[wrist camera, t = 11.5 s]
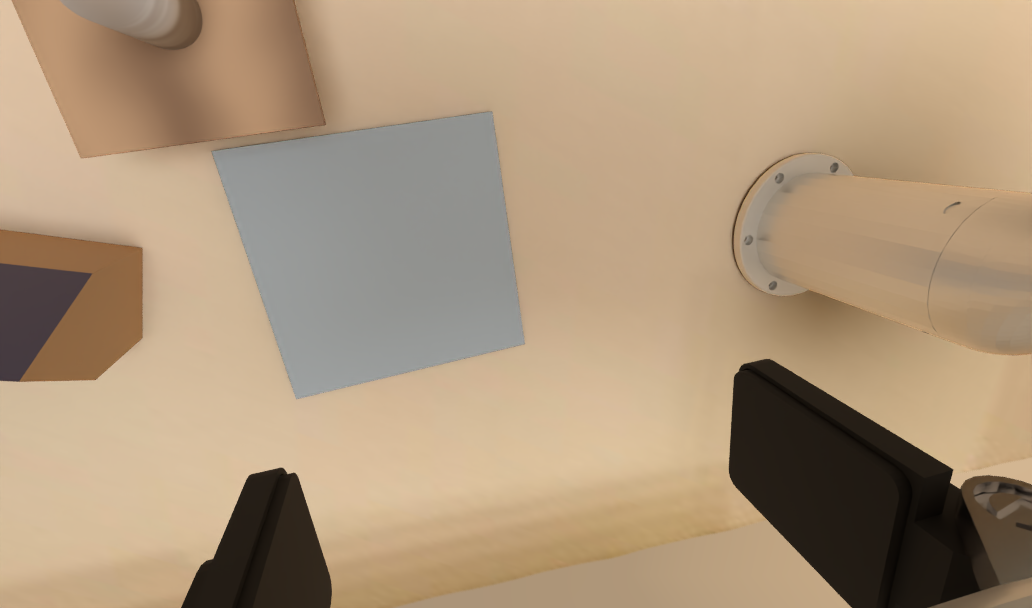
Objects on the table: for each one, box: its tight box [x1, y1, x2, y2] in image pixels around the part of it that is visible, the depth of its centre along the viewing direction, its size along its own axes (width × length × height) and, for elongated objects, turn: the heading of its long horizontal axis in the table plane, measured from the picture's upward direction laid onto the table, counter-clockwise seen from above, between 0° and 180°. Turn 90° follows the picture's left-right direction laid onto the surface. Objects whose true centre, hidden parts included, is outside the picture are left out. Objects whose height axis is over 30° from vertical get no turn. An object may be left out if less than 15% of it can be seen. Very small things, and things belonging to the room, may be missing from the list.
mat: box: [211, 112, 525, 399], centre depth 36 cm, size 18×18×1 cm
